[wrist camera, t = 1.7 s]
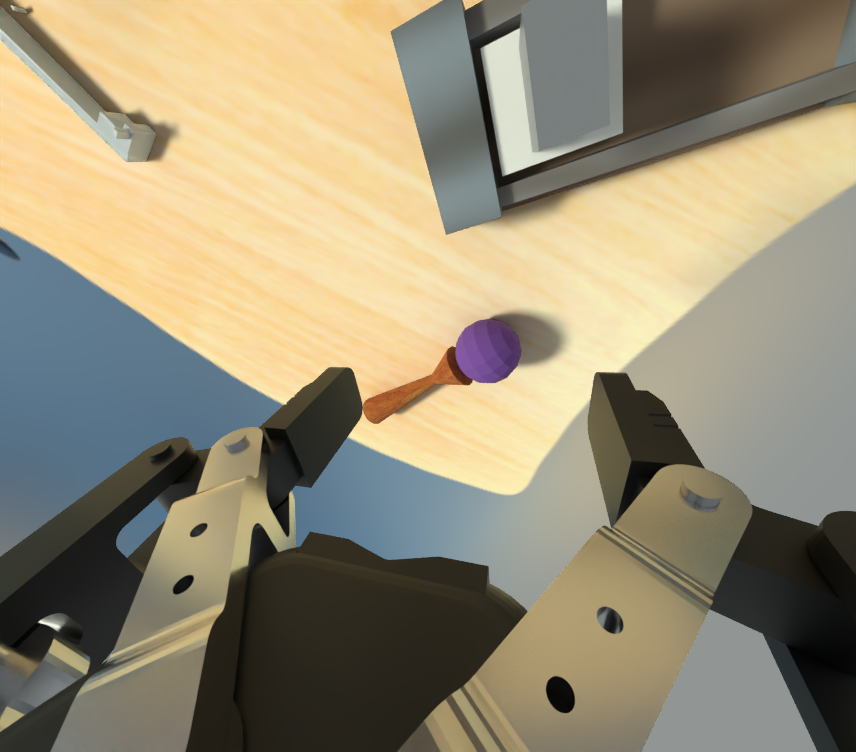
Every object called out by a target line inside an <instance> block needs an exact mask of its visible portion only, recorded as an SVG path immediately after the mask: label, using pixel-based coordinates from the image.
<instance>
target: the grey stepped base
mask: <svg viewBox="0 0 856 752" xmlns="http://www.w3.org/2000/svg"><path fill="white" fill-rule="evenodd" d="M529 1H531V0H483V1H481V2H479V3H478V4H476V5H474V6H472V7H471V8H469V9H467V10H465V7H464V4H463V1H462V0H443V1H441V2H439V3H438V4H436V5H434V6H433V7H431V8H429V9H428V10H426V11H424V12H423V13H421V14H419V15H417V16H416V17H414V18H412V19H411V20H409V21H407V22H406V23H404V24H402V25H401V26H399V27H397V28H396V29H394V30H392V31H391V35H392V39H393V42H394V46H395V50H396V53H397V57H398V61H399V64H400V68H401V71H402V75H403V79H404V82H405V86H406V90H407V93H408V97H409V101H410V104H411V108H412V112H413V115H414V119H415V123H416V126H417V130H418V134H419V137H420V141H421V145H422V148H423V152H424V156H425V159H426V163H427V167H428V170H429V174H430V178H431V181H432V185H433V189H434V192H435V196H436V199H437V203H438V207H439V210H440V214H441V218H442V221H443V225H444V229H445V232H446V235H447V234H450V233H454V232H457V231H460V230H463V229H466V228H469V227H473V226H476V225H479V224H482V223H485V222H488V221H491V220H495V219H498V218H501V216H502V211H504V210H507V209H510V208H513V207H517V206H520V205H523V204H526V203H529V202H532V201H535V200H538V199H541V198H544V197H547V196H550V195H554V194H557V193H560V192H563V191H566V190H569V189H572V188H575V187H578V186H581V185H584V184H587V183H591V182H594V181H597V180H600V179H603V178H606V177H609V176H612V175H615V174H618V173H621V172H624V171H628V170H631V169H634V168H637V167H640V166H643V165H646V164H649V163H652V162H655V161H658V160H661V159H665V158H668V157H671V156H674V155H677V154H680V153H683V152H686V151H689V150H692V149H695V148H698V147H702V146H705V145H708V144H711V143H714V142H717V141H720V140H723V139H726V138H729V137H732V136H735V135H739V134H742V133H745V132H748V131H751V130H754V129H757V128H760V127H763V126H766V125H769V124H772V123H775V122H779V121H782V120H785V119H788V118H791V117H794V116H797V115H800V114H803V113H806V112H809V111H812V110H816V109H819V108H822V107H826V106H832V105H839V104H845V103H851V102H856V0H622V68H623V133H621V134H618V135H615V136H613V137H610V138H607V139H604V140H601V141H599V142H596V143H593V144H590V145H588V146H585V147H582V148H579V149H577V150H574V151H571V152H568V153H566V154H563V155H560V156H557V157H555V158H552V159H549V160H546V161H544V162H541V163H538V164H535V165H532V166H530V167H527V168H524V169H521V170H519V171H516V172H513V173H510V174H508V175H505V176H502V171H501V166H500V160H499V154H498V148H497V143H496V137H495V131H494V125H493V120H492V114H491V108H490V102H489V96H488V91H487V85H486V79H485V73H484V68H483V62H482V56H481V50H480V48H482V47H484V46H486V45H488V44H490V43H492V42H494V41H496V40H498V39H500V38H502V37H504V36H506V35H508V34H509V33H511V32H513V31H515V30H517V29H519V28H520V22H521V8H522V5H524V4H526V3H528V2H529Z"/></svg>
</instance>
